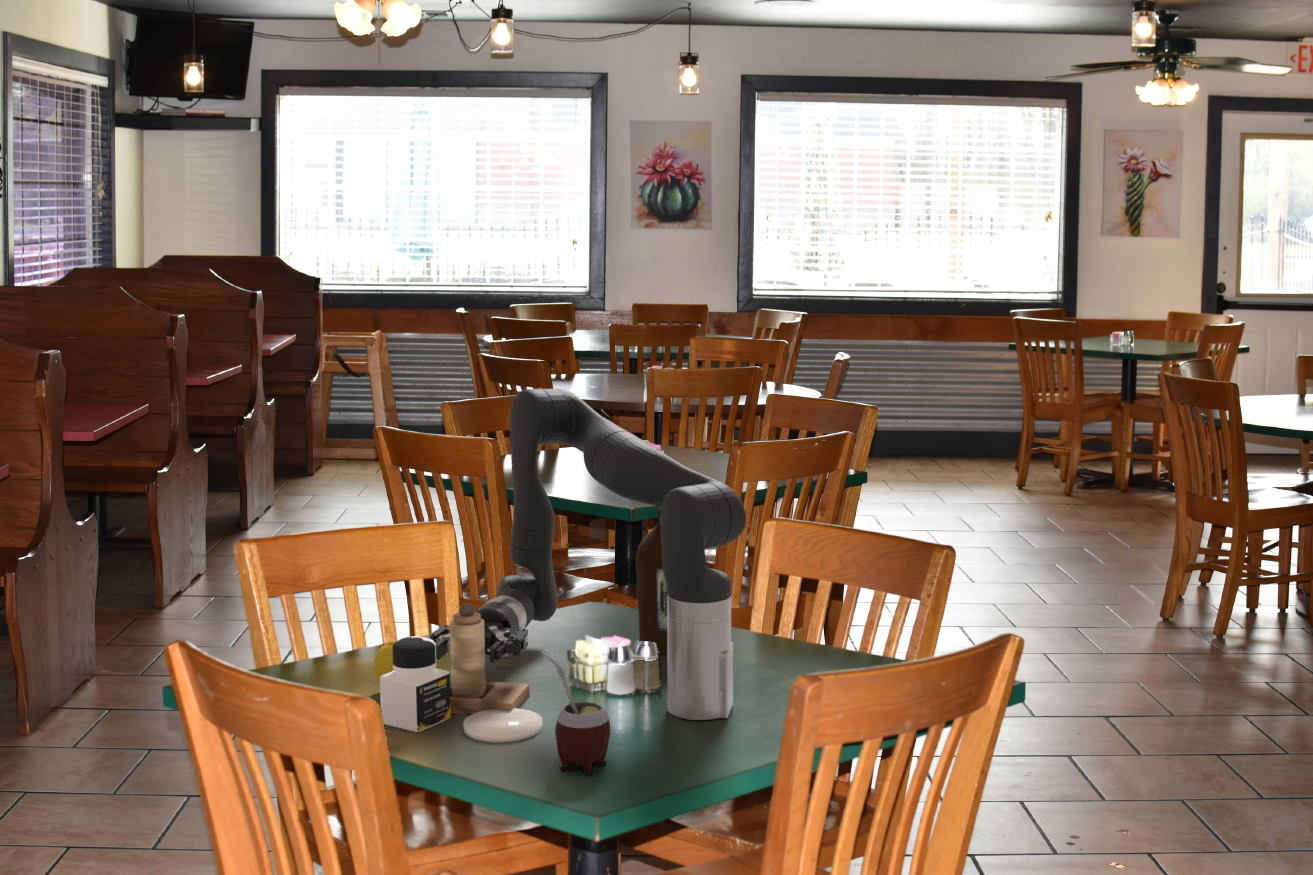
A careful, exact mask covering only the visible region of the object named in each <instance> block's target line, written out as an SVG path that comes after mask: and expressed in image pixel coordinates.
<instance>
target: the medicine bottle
mask: <svg viewBox="0 0 1313 875" xmlns="http://www.w3.org/2000/svg"><path fill="white" fill-rule="evenodd" d="M394 642H395V643H394V644H393V646H392V650H393V670H394V671H392V672H390V673H387V674H384V675H382V676H380V684H379V694H380V696H379V697H380V698H379V699H380V711H381V710H382V714H383V719H384V724H385V726H389V727H392V728H396V727H397V729H400V728H401V729H400V730H404V729H405V730H406V731H408V732H412V731H413V733H416V732H417V733H418V732H419V733H421V732H423V731H425V729H426V730H427V729H429V728H430V729H431V728H432V727H435V726H437V725H439V724H441V723H444V722H446V721H448V720H450V719H451V717H452V716H451V714H452V713H451V704H450V679H451V672H450V671H449V670H445V669H442V668H437V659H436V643H435V642H434V641H433V640H432V639H429V638H428V637H425V636H419V635H418V636H416V635H414V636H407V637H403V638H399V639H398V640H396V641H394ZM384 724H383V725H384ZM434 725H435V726H434ZM419 733H418V734H419Z"/></svg>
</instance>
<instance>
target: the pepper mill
mask: <svg viewBox="0 0 1313 875" xmlns="http://www.w3.org/2000/svg"><path fill="white" fill-rule="evenodd" d="M449 626H450V644H449V646H450V648H451V652H450V679H451V688H452V697H464V698H480V699H482V698H483V697H484V696H485V695H486V682H485V681H486V655H485V635H484V620H483V619H481V614H480V613H478V612H476V611H475V607H474V605H473V604H471V603H469V602H464V603H462V604H461V605H460V606H459V610H458V612H456V613H454V614H453V615H452V619H451V620H450V621H449Z"/></svg>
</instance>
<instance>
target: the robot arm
mask: <svg viewBox="0 0 1313 875" xmlns="http://www.w3.org/2000/svg"><path fill="white" fill-rule="evenodd" d="M509 413H510V414H509V436H510V437H509V440H510V456H511V457H510V459H511V460H510V461H511V473H512V475H511V476H512V486H513V487H512V488H513V489H512V490H513V515H512V528H511V538H510V546H509V547H510V550H509V556H510V559H511V561H512V562H514V563H515V564H516V565H519V566H521V567H522V568H525V569H528V570H529V571H530V572H531V573H532V574H533V576H534V577H531V576H530V577H529V576H522V575H517V574H511V575H505V576H504V577H502V578H501V580H500V581H499V582H498V585H497V587H496V592H495V597H494V598H492V599H490V600H488V601H486V602H485V603H484V604H483V605H482V606H480V607H479V608H478V609H477V610H476V611H475V612H478V613H480V614H481V619H483V620H484V635H485V656H489V663H493V664H494V663H496V662H498V661H499V660H501V659H503V657H504V658H505V657H508V656H509V654H512V655H513V656H514V657H519V656H521V655H523V653H524V652H525V650H526V649H527V648H528V646H529V631H528V629H527V627H528V626H529V624H530V623H531V622H532V621H537V622H546V621H548V620H550V619H551V618H552V617H553V616H554V614H555V613H556V611H557V607H558V600H559V596H558V588H557V585H556V584H557V583H556V578H555V574H554V568H553V557H552V556H553V544H554V535H555V534H554V532H555V513H554V508H553V506H552V502H551V500H550V498H549V495H548V493H547V491H546V489H545V487H544V484H543V482H542V480H541V477H540V474H539V468H538V450H539V446H540V445H567V446H571V447H573V448H575V449H577V450H578V451H580V452H582V453H583V462H584V465H585V468H586V470H587V472H588V474H589V475H590V476H591V477H592V479H593V480H595V481H596V483H599V484H600V485H601V486H603V487H604V488H606V489H607V490H609V491H610V492H612V493H614V494H616V495H618V496H619V497H622V498H624V499H628V500H630V501H633V502H636V503H637V502H638V503H643V504H646V505H650V506H654V507H655V506H656V507H658V506H659V507H661V514H660V528H661V545H662V565H663V573H664V577H665V580H666V583H667V655H666V657H667V660H666V662H667V665H666V666H667V668H666V671H667V672H666V673H667V677H666V678H667V680H666V681H667V683H666V684H667V685H666V686H667V694H666V697H667V698H666V699H667V711H668V713H669V714H670V715H672V716H674V717H676V718H679V719H684V720H691V721H708V720H715V719H728V718H729V716H730V713H731V710H732V708H733V706H734V642H732V579H731V577H730V575H729V574H728V573H726V572H724V571H721V570H717V569H714V568H710V567H708V566H707V560H706V549H712V548H717V547H721V546H722V547H723V546H725V545H728V544H730V543H733V542H734V541H736V540H737V539H738V538H740V536H741V535H742V533H744V531H745V528H746V524H747V514H746V509H745V506H744V504H743V502H742V499H741V498H740V496H739V495H738V494H737V492H735V490H734V489H733V488H731V487H730V486H729V485H727V483H724V482H722V481H720V480H717V479H715V478H712V477H709V476H707V475H705V474H703V473H701V472H698V471H696V470H693V469H691V468H689V467H687V466H685V465H683V464H682V463H680V462H679V461H677V460H676V459H673V457H670V456H669V455H667V454H665V453H664V452H662V451H660V450H658V449H657V448H655V447H653V446H652V445H650V444H649V443H648V442H646V441H644V440H643V439H641V438H639V437H638V436H637V435H635V434H633V433H632V432H629V431H628V430H626V429H625V428H622V427H620V426H619V425H617V424H616V423H614V422H612V421H611V420H609V419H607V418H605V417H604V416H602V415H601V414H599V413H598V412H597V411H596V410H594V409H593V408H592V407H591V406H590V405H588V403H586V402H585V401H584V400H583V399H581V398H580V397H579V396H577V394H575V393H573V392H571V391H570V390H566V389H565V388H563V389H561V388H526V389H522V390H521V391H519V392H517V393H516V395H515V396H514V398H513V400H512V403H511V407H510V412H509ZM429 639H432V640H433V641H434V642H435V643H436V660H441V659H442V658H443V657H444V656H446V655H447V653H451V648H450V624H444V625H441V626H440V627H438V628H437V629H436V630H433V631H432V632H431V633H429ZM448 644H449V646H448Z"/></svg>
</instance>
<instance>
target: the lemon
mask: <svg viewBox="0 0 1313 875" xmlns="http://www.w3.org/2000/svg"><path fill="white" fill-rule="evenodd" d="M395 642H396V641H395V640H390V641H389V642H388V643H385V644H384V645H382V646H381V647H380V648H378V651H377V652H376V654H375V657H374V662H373V663H374V664H373V672H374V677H375V679H376V681H377V683H378V684H379V685H380V676H382V675H384V674H387V673H390V672H392V671H394V670H393V650H392V646H393V644H394V643H395Z"/></svg>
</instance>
